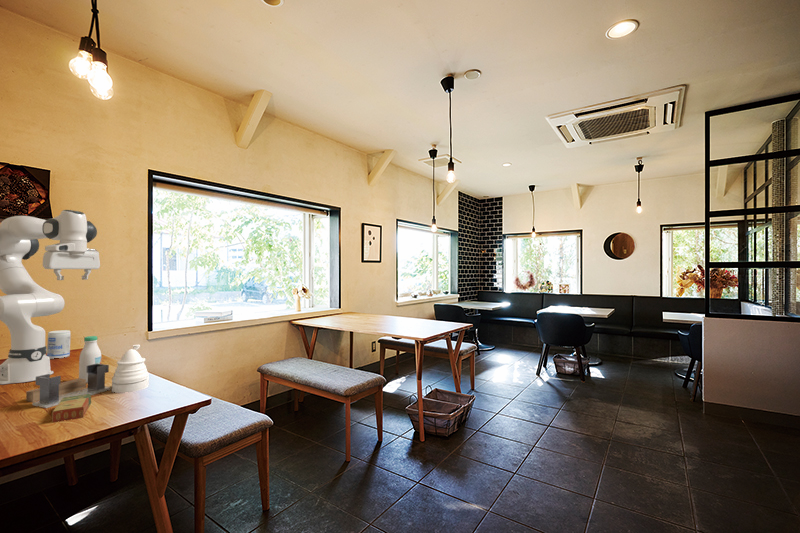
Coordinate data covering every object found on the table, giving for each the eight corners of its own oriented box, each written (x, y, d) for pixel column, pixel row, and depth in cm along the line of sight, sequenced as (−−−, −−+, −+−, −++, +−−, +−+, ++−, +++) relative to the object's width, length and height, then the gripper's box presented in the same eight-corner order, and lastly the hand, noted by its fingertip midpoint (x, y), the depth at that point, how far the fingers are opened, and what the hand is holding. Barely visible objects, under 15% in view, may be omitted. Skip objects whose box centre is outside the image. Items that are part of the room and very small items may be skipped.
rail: (26, 401, 141) (26, 391, 141) (79, 387, 158) (79, 378, 158) (32, 403, 140) (33, 392, 140) (85, 388, 157) (85, 379, 157)
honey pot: (139, 381, 166) (140, 341, 167) (154, 386, 160) (155, 345, 160) (105, 389, 155) (106, 346, 155) (120, 395, 149) (121, 350, 149)
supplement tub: (45, 360, 201) (45, 333, 201) (48, 356, 209) (49, 330, 209) (68, 357, 207) (69, 331, 207) (71, 354, 214) (71, 329, 215)
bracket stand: (32, 405, 137) (32, 377, 137) (97, 387, 158) (97, 362, 158) (46, 408, 134) (46, 379, 134) (110, 389, 155) (110, 364, 155)
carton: (51, 424, 122) (51, 411, 122) (62, 408, 135) (62, 396, 135) (84, 418, 127) (84, 406, 127) (91, 403, 140) (91, 392, 140)
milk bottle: (88, 384, 162) (89, 338, 162) (74, 382, 164) (75, 337, 164) (105, 378, 170) (106, 335, 170) (91, 377, 171) (92, 334, 171)
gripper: (93, 249, 169) (93, 279, 169) (40, 246, 149) (39, 280, 149) (104, 249, 167) (103, 279, 167) (51, 246, 148) (50, 280, 148)
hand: (72, 279), depth 158 cm, fingers open, 8 cm apart
